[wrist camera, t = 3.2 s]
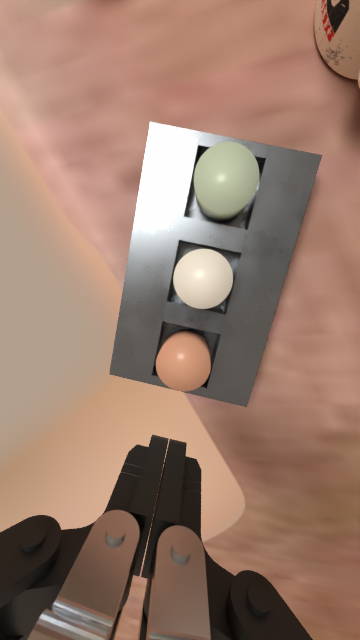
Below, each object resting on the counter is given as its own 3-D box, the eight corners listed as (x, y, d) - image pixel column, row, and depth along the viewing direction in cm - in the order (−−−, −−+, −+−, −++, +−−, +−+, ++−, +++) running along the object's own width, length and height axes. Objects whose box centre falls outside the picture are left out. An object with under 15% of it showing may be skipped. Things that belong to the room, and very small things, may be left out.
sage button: (202, 157, 21) (201, 135, 17) (256, 167, 20) (267, 148, 17) (190, 214, 22) (187, 205, 18) (242, 225, 21) (249, 218, 18)
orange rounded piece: (167, 324, 24) (161, 334, 20) (214, 334, 24) (216, 346, 20) (158, 367, 25) (151, 384, 21) (203, 378, 25) (203, 397, 21)
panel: (157, 140, 22) (150, 121, 20) (306, 169, 22) (322, 155, 19) (119, 362, 27) (109, 374, 24) (241, 391, 27) (246, 407, 24)
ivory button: (183, 246, 22) (180, 242, 19) (234, 257, 22) (239, 255, 19) (173, 296, 23) (168, 301, 20) (221, 307, 23) (224, 314, 20)
